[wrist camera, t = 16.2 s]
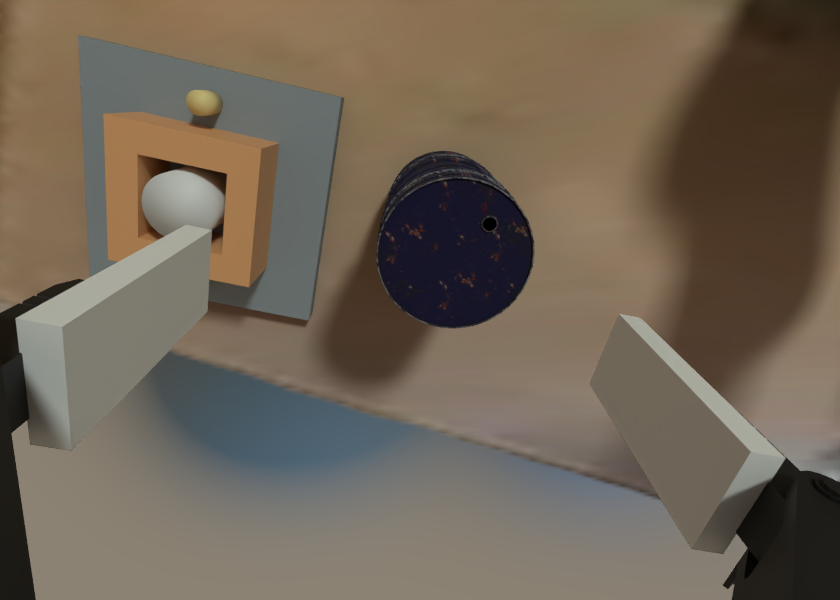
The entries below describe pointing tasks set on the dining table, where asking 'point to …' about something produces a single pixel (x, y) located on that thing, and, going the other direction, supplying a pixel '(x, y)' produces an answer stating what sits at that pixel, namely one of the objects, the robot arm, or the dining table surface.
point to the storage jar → (452, 242)
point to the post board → (240, 116)
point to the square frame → (200, 147)
